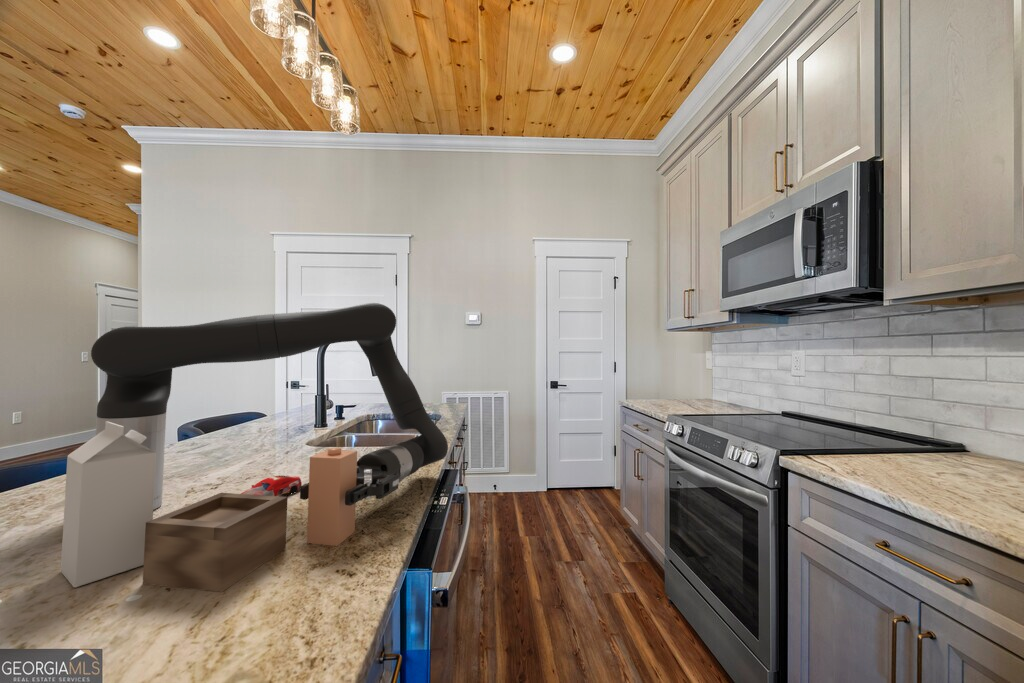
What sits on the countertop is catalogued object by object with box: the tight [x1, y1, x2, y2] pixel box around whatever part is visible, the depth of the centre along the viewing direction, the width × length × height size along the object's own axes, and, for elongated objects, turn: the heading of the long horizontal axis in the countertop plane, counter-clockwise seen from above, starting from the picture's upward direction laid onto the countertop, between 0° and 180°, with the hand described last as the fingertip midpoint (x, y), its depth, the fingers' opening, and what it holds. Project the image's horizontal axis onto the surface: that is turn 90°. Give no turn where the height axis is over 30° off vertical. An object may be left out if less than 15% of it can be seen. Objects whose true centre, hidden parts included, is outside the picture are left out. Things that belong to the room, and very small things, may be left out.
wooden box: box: [142, 492, 288, 593], centre depth 54 cm, size 11×11×8 cm
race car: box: [240, 475, 303, 497], centre depth 79 cm, size 13×5×4 cm, turn 162°
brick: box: [306, 446, 358, 547], centre depth 63 cm, size 5×5×14 cm
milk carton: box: [60, 421, 156, 588], centre depth 53 cm, size 7×7×19 cm
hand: (324, 496), depth 61 cm, fingers open, 8 cm apart
